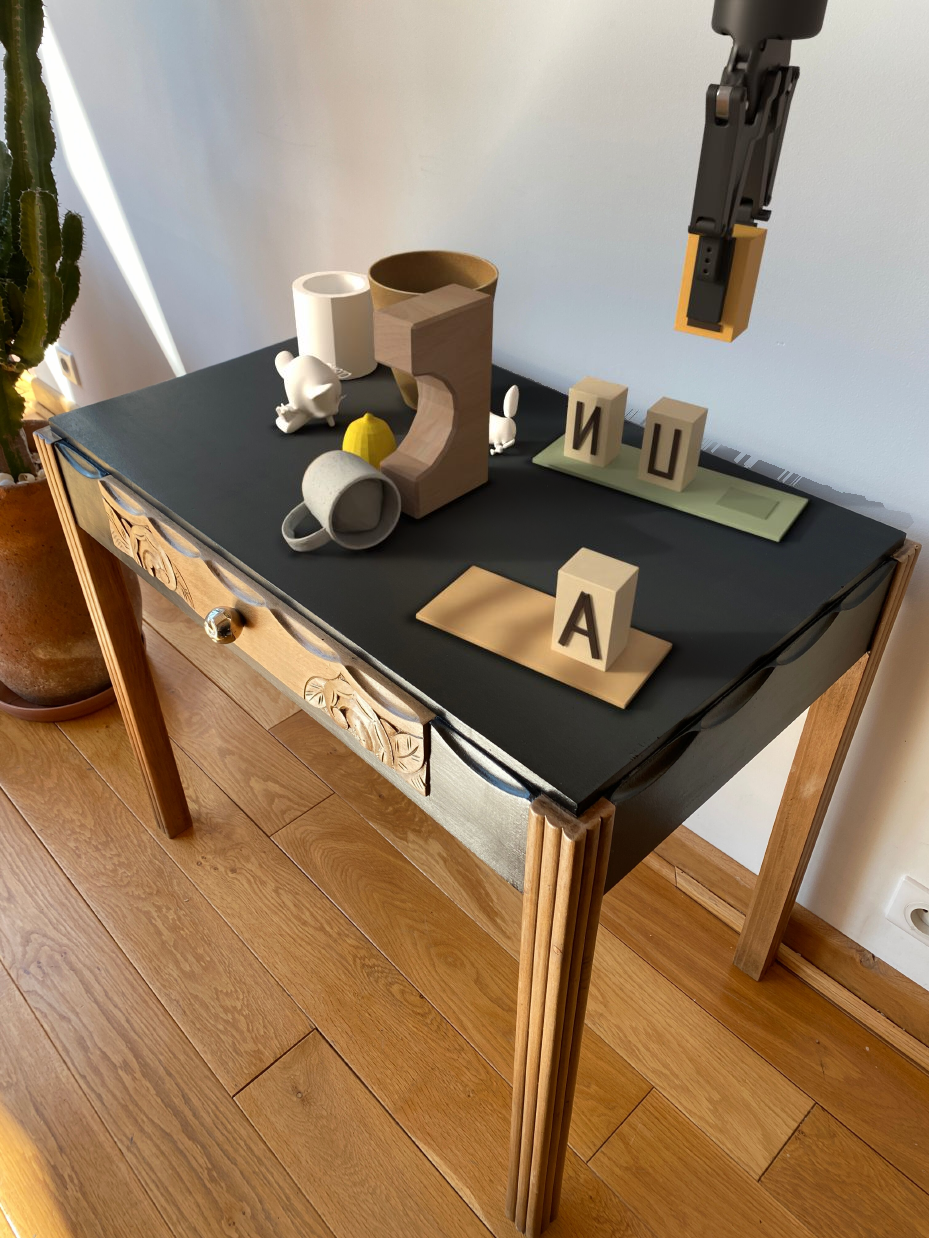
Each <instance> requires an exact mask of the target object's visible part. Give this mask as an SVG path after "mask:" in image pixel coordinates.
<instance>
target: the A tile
mask: <svg viewBox="0 0 929 1238" xmlns="http://www.w3.org/2000/svg"><path fill="white" fill-rule="evenodd" d="M639 571H640V567H639V566H636V565H633V564H631V563H629V562H625V561H622V560H619V559H617V558H613V557H611V556H608V555H605V554H603V553H600V552H597V551H595V550H592V549H589V548H586V547H582V548H580V549H579V550H578V551H577V552H576V553H575V554H574V555H573V556H572V557H571V558H570V559H568V561H566V563H565V564H564V565H562V566H561V568H560V569H559V570H558V572H557V584H556V595H555V598H556V604H555V615H554V626H553V636H552V647H551V649H552V650H554V651H556V652H559V653H561V654H563V655H566V656H568V657H571V658H573V659H575V660H578V661H580V662H582V663H585V664H587V665H590V666H592V667H594V668H597V669H599V670H601V671H604V672H605V671H606V670H607V669H608V668H609V667H610V665H611V664H612V663H613V662H614V661H615V660H616V658H617V657H618V656H619V655H620V654H621V652H622V651H623V650H624V649H625V648H626V646H627V642H628V635H629V629H630V627H631V623H632V615H633V610H634V603H635V598H636V597H635V596H636V590H637V586H638V585H637V584H638V577H639Z"/></svg>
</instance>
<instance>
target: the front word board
mask: <svg viewBox="0 0 929 1238" xmlns="http://www.w3.org/2000/svg"><path fill="white" fill-rule="evenodd" d="M555 604H556V596H552V595H549V594H547V593H544V592H542V591H540V590H537V589H534V588H532V587H529V586H527V585H524V584H522V583H519V582H516V581H515V580H511V579H509V578H507V577H504V576H502V575H498V574H497V573H494V572H491V571H488V570H487V569H483V568H481V567H478V566H476V565H472V566H471V567H470V568H468V570H466V571H464V573H463V574H462V575H460V576H459V577H458V578H457V579H456V580H454V582H452V583H451V584H450V585H449V586H447V587H446V588H445V589H444V590H443V591H441V592H440V593H439V594H438V595H437V596H435V597H434V598H433V599H432V600H431V601H429V602H428V603H427V604H426V605H425V606H424V607H422V608H421V609H420V610H419V611H418V612H416V615H415V618H416V619H417V620H419V621H421V622H424V623H426V624H428V625H431V626H433V627H435V628H438V629H439V630H442V631H444V632H447V633H448V634H451V635H454V636H456V637H458V638H460V639H462V640H465V641H467V642H469V643H471V644H473V645H477V646H478V647H481V648H483V649H486V650H488V651H490V652H492V653H495V654H497V655H499V656H501V657H503V658H506V659H509V660H511V661H513V662H515V663H518V664H520V665H522V666H524V667H527V668H529V669H531V670H534V671H535V672H538V673H541V674H543V675H545V676H547V677H549V678H552V679H554V680H557V681H559V682H561V683H563V684H565V685H568V686H570V687H572V688H575V689H577V690H579V691H582V692H584V693H587V694H589V695H591V696H593V697H596V698H598V699H600V700H601V701H605V702H607V703H609V704H612V705H614V706H616V707H618V708H621V709H623V710H625V709H627V707H628V705H630V703H631V701H632V700H633V699H634V698H635V696H636V695H637V693H638V692H639V690H641V689H642V687H643V686H644V684H646V682H647V680H648V679H649V678H650V677H651V675H652V674H653V673H654V672H655V670H656V669H657V668H658V666H660V664H661V663H662V662H663V660H664V659H665V658H666V657H667V655H668V654H669V653H670V651H671V650H672V648H673V643H672V642H669V641H667V640H664V639H662V638H658V637H657V636H653V635H651V634H648V633H646V632H644V631H641V630H638V629H637V628H633V627H631V626H630V629H629V635H628V642H627V646H626V648H625V649H624V650H623V651H622V652H621V654H620V655H619V656H618V657H617V658H616V660H615V661H614V662H613V663H612V664H611V665H610V667H609V668H608V669H607V670H606V671H605V672H604V671H601V670H599V669H597V668H594V667H592V666H590V665H587V664H585V663H582V662H580V661H578V660H575V659H573V658H571V657H568V656H566V655H563V654H561V653H559V652H556V651H554V650H552V649H551V647H552V636H553V626H554V615H555Z"/></svg>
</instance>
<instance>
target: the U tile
mask: <svg viewBox="0 0 929 1238" xmlns="http://www.w3.org/2000/svg"><path fill="white" fill-rule="evenodd" d="M708 413H709V408H708V407H705V406H700V405H696V404H692V403H689V402H686V401H681V400H678V399H675V398H671V397H667V396H663V397H661V398H660V399H659V400H657V401H656V402H655V403H654V404H653V405H652V406H650V407H649V408H648V409H647V410H646V416H645V424H644V429H643V430H644V431H643V436H642V437H643V438H642V445H641V449H642V450H641V457H640V464H639V471H638V478H637V479H639V480H642V481H646V482H649V483H652V484H655V485H658V486H661V487H665V488H668V489H671V490H674V491H677V492H681V491H682V490H683V489H684V488H685V487H686V486H687V485H688V484H689V483H690V482H691V481H692V480H693V479H694V478H695V476H696V471H697V466H698V465H699V461H700V460H699V459H700V455H701V450H702V445H703V439H704V434H705V429H706V423H707V419H708Z"/></svg>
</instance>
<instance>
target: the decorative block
mask: <svg viewBox="0 0 929 1238" xmlns="http://www.w3.org/2000/svg"><path fill="white" fill-rule="evenodd" d="M494 302H495V298H494V299H493V297H492V296H491V295H488V294H485V293H482V292H479V291H476V290H473V289H470V288H466V287H463V286H460V285H457V284H451V285H448V286H445V287H442V288H439V289H436V290H434V291H431V292H428V293H425V294H422V295H419V296H416V297H413V298H410V299H407V300H405V301H402V302H399V303H396V304H393V305H390V306H387V307H384V308H381V309H378V310H376V311H375V312H374V313H373V324H374V348H375V360H376V361H377V363H378V364H381V365H383V366H386V367H388V368H394V369H396V370H398V371H401V372H403V373H406V374H408V375H411V376H413V377H414V378H415V379H416V380H417V387H418V393H419V399H418V409H417V410H416V414H415V416H414V419H413V421H412V424H411V426H410V428H409V430H408V433H407V434H406V436H405V437H404V438H403V440H402V441H401V443H400V444H399V445H398V447H397V448H396V451H395V452H393V453H392V454H391V455H389V456H388V457H386V458H385V459H384V460H382V461H381V462H380V472H381V473H382V474H384V475H385V476H386V477H388V478H389V479H390V480H392V481H393V483H394V484H395V485H396V487H397V489H398V491H399V494H400V497H401V511H400V512H402V513H404V514H406V515H407V516H410V517H412V518H414V519H415V520H420V519H421V518H423V517H425V516H427V515H428V514H431V513H432V512H434V511H436V510H438V509H440V508H441V507H443V506H444V505H446V504H448V503H450V502H452V501H454V500H456V499H457V498H460V497H461V496H463V495H465V494H467V493H469V492H470V491H472V490H475V489H476V488H478V487H480V486H481V485H483V484H485V483H487V482H488V481H489V458H490V457H489V455H490V453H489V452H490V444H489V429H490V412H491V397H492V396H491V395H492V394H491V393H492V370H493V369H492V368H493V366H492V365H493V364H492V363H493V336H494V335H493V333H494V309H495V307H494V305H495V304H494Z"/></svg>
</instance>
